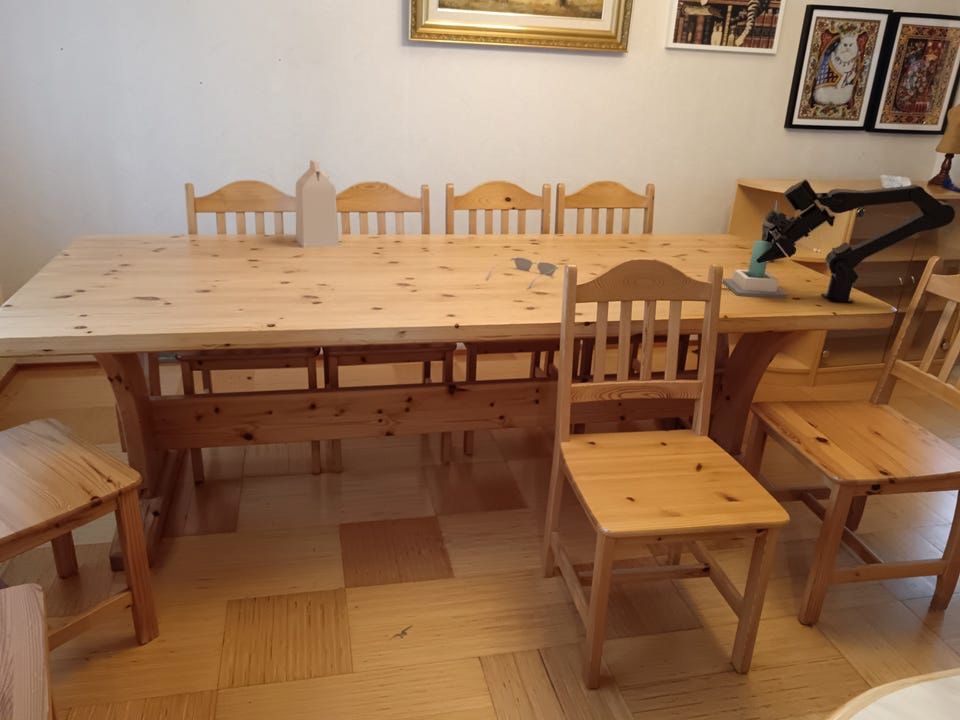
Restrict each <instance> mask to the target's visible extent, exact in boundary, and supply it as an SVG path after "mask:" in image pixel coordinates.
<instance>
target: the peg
mask: <svg viewBox="0 0 960 720" xmlns="http://www.w3.org/2000/svg"><path fill="white" fill-rule="evenodd" d="M770 246H771V243H770V242H767V241H762V240H754V242H753V248H752V253H751V257H750V262H749V267H748V270H749V271H748V277H752V278H764V275H765V271H766V270H767V265H768V262H767V261H766V262H762V263H758V262H757V261H756V260H757V259H758V258H759V257H760V256H761V255H762V254H763V253H764V252H765V251H766V250H767V249H768V248H769V247H770Z"/></svg>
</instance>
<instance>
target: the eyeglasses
mask: <svg viewBox="0 0 960 720" xmlns="http://www.w3.org/2000/svg"><path fill="white" fill-rule="evenodd" d="M510 261H514V264H515V267H516V269H517V270H523V271H530V270H531V268H532V266H533V264H534V265H537V266H536V267H537V271H539V273H540V274H539V275H538V276H537V277H535V278H534V279H533V280H532V282H531V283H529V285H528V286H527V288H526V289H525V290H527V291H528V290H531V288H532V286H533V284H534V282H535V281H536V280H537V279H538V278H539V277H541V276H543V275H548V276H552V277H553V275H554V274H555V272H556V270H559V266H557V265H556V264H554V263H549V262H545V261H544V262H541V261H540V262H538V263H537V262H536V261H535V262H532V260H530V259H527V258H525V257H516V258H514V257H512V258H510V259H509V260H506V261H503V262H500V263H498V264H495V265H494V266H493V267H492V268H491V270H490V271H489V273H488V275H487V276H486V278H485V281H486V282H488V281H489V279H490V276H491V273H492V271H493V270H494V269H495V267H497V266H499V265H502V264H504V263H506V262H510Z"/></svg>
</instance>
